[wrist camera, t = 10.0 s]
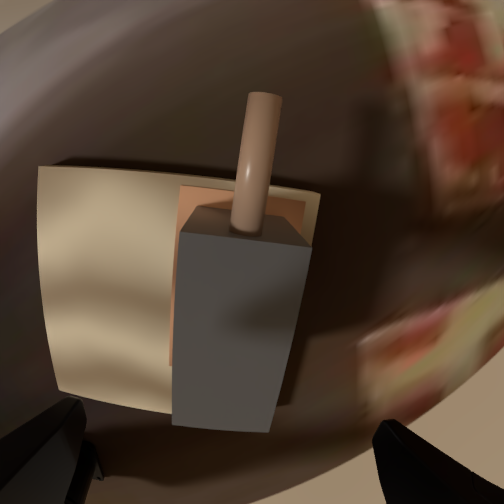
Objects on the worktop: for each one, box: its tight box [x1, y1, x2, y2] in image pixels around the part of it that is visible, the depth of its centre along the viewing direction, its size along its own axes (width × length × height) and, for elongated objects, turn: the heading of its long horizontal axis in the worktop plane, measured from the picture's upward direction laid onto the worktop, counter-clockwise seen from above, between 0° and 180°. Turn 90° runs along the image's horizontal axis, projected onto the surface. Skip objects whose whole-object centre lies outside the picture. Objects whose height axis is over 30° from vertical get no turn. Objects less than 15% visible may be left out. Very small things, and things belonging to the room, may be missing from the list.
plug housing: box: [172, 92, 312, 432], centre depth 14 cm, size 14×4×6 cm, turn 172°
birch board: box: [37, 165, 321, 414], centre depth 19 cm, size 16×16×2 cm
